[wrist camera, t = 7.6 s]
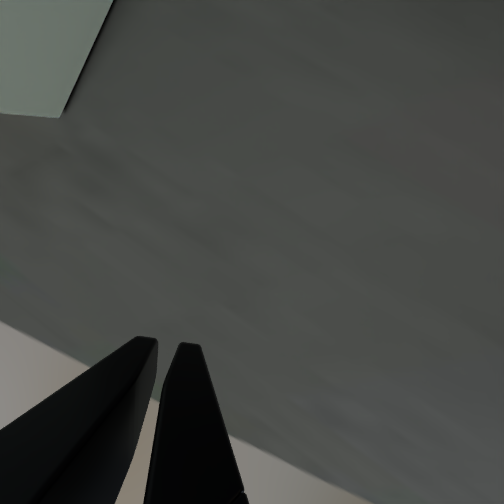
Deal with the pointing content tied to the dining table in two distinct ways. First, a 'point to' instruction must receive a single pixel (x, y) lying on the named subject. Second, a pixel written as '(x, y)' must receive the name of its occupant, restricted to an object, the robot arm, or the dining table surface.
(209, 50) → the dining table surface
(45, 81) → the flap
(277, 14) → the dining table surface
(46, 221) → the dining table surface
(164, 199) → the dining table surface
